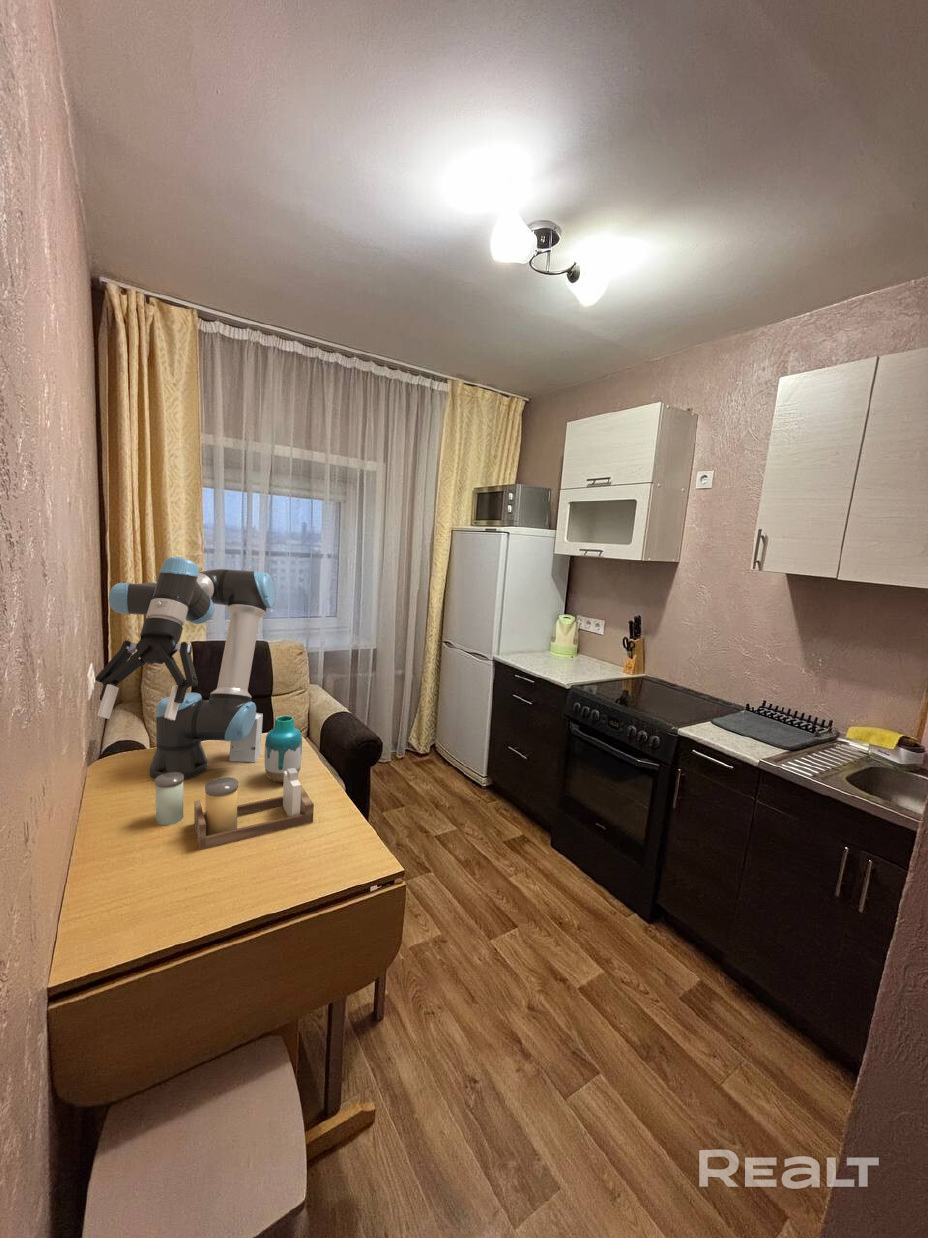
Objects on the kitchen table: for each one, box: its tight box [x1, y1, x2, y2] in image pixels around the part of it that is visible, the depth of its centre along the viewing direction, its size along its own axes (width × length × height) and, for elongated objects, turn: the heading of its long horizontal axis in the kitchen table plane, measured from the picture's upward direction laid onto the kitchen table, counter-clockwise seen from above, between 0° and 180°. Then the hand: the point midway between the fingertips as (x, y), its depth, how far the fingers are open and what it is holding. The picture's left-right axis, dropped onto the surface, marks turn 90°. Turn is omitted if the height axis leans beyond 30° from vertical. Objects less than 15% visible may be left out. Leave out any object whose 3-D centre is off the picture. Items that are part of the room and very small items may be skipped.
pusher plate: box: [282, 768, 302, 817], centre depth 129 cm, size 9×2×12 cm, turn 34°
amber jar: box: [204, 776, 239, 836], centre depth 119 cm, size 7×7×12 cm
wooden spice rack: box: [193, 784, 315, 850], centre depth 124 cm, size 12×26×6 cm, turn 124°
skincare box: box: [229, 712, 264, 763], centre depth 159 cm, size 8×6×15 cm
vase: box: [264, 714, 303, 783], centre depth 147 cm, size 11×11×19 cm
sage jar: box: [154, 772, 184, 827], centre depth 123 cm, size 6×6×11 cm
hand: (136, 718), depth 100 cm, fingers open, 13 cm apart
